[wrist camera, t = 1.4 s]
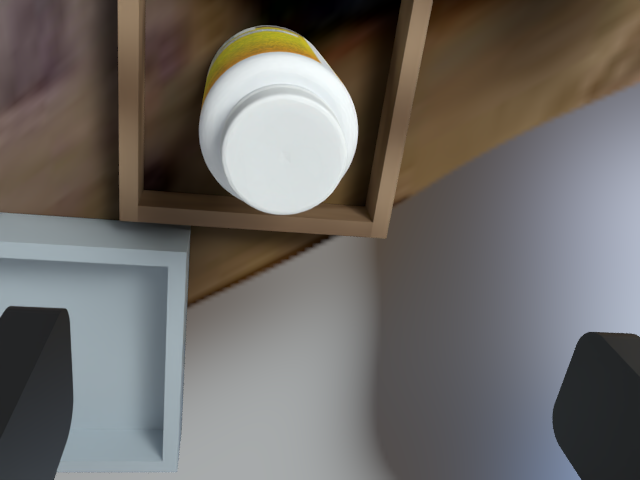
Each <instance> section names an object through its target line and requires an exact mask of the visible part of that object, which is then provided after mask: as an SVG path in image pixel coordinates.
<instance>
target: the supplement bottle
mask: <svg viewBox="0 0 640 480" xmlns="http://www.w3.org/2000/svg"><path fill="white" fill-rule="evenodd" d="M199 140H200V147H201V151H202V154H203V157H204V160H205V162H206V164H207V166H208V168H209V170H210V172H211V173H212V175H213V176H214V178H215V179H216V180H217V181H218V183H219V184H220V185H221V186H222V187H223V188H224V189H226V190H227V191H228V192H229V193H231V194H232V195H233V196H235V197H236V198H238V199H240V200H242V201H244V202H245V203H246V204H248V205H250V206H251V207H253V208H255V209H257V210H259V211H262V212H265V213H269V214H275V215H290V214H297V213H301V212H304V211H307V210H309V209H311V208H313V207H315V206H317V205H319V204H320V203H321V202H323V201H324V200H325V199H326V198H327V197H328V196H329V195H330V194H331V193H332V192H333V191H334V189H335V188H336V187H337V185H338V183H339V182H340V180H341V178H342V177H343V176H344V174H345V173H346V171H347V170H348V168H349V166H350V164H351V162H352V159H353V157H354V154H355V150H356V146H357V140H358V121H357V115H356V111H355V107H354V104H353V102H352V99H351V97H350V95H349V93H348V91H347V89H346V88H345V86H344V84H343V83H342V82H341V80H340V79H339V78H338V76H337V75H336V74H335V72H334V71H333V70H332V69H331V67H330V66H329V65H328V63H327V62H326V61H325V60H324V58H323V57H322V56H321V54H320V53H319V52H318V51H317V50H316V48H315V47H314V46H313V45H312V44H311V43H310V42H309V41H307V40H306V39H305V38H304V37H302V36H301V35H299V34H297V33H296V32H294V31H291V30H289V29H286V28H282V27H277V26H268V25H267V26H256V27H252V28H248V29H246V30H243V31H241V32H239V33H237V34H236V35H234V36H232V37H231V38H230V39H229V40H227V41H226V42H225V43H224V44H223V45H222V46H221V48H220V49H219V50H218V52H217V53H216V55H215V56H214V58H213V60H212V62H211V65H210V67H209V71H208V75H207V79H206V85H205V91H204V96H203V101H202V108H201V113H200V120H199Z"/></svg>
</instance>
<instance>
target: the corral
mask: <svg viewBox="0 0 640 480" xmlns="http://www.w3.org/2000/svg"><path fill="white" fill-rule="evenodd" d="M432 3H433V0H401V6H400V12H399V17H398V23H397V29H396V34H395V40H394V46H393V51H392V57H391V63H390V68H389V74H388V80H387V85H386V91H385V97H384V103H383V108H382V114H381V120H380V125H379V131H378V137H377V142H376V148H375V154H374V159H373V165H372V171H371V176H370V182H369V188H368V194H367V199H366V205H365V206H351V205H338V204H325V203H320V204H319V205H317V206H315V207H313V208H311V209H309V210H307V211H304V212H301V213H297V214H290V215H275V214H269V213H265V212H262V211H259V210H257V209H255V208H253V207H251V206H250V205H248V204H246V203H245V202H244V201H242V200H240V199H238V198H236V197H231V196H218V195H205V194H191V193H178V192H165V191H151V190H144V99H145V0H118V97H119V213H120V221H130V222H145V223H160V224H175V225H190V226H205V227H220V228H236V229H251V230H266V231H281V232H296V233H311V234H326V235H341V236H356V237H371V238H386V237H387V232H388V226H389V222H390V216H391V211H392V206H393V201H394V196H395V191H396V186H397V181H398V176H399V171H400V166H401V161H402V155H403V150H404V145H405V140H406V135H407V130H408V125H409V120H410V115H411V110H412V105H413V99H414V94H415V89H416V84H417V79H418V74H419V69H420V64H421V59H422V54H423V48H424V43H425V38H426V33H427V28H428V23H429V18H430V13H431V8H432Z"/></svg>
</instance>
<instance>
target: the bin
mask: <svg viewBox="0 0 640 480" xmlns="http://www.w3.org/2000/svg"><path fill="white" fill-rule="evenodd" d="M190 232H191V226H190V225H175V224H160V223H145V222H130V221H120V220H105V219H90V218H75V217H60V216H45V215H30V214H15V213H0V317H1V315H2V314H3V312H4V311H5V310H6V308H7V307H9V306H24V307H47V308H66V309H67V311H68V313H69V318H70V332H71V353H72V373H73V397H74V398H73V413H72V421H71V427H70V431H69V436H68V439H67V442H66V445H65V448H64V451H63V454H62V457H61V460H60V463H59V466H58V469H57V472H177V469H178V460H179V450H180V441H181V430H182V406H183V386H184V364H185V342H186V320H187V298H188V276H189V254H190Z"/></svg>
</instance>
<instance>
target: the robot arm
mask: <svg viewBox="0 0 640 480" xmlns="http://www.w3.org/2000/svg"><path fill="white" fill-rule="evenodd" d="M73 398H74V397H73V373H72V353H71V332H70V318H69V313H68V311H67V309H66V308H47V307H24V306H9V307H7V308H6V310H5V311H4V312H3V314H2V315H1V317H0V480H54V478H55V475H56V472H57V469H58V466H59V463H60V460H61V457H62V454H63V451H64V448H65V445H66V442H67V439H68V436H69V431H70V427H71V421H72V413H73ZM553 429H554V433H555V437H556V439H557V442H558V444H559V446H560V447H561V449H562V450H563V452H564V454H565V455H566V457H567V458H568V460H569V461H570V463H571V464H572V466H573V467H574V469H575V470H576V472H577V474H578V475H579V477H580V478H581V480H640V337H639V336H637V335H635V334H628V333H626V334H625V333H604V332H588V333H586V334H584V335H583V336H582V337H581V338H580V339H579V341H578V343H577V345H576V348H575V350H574V353H573V356H572V359H571V361H570V364H569V367H568V369H567V372H566V375H565V378H564V380H563V383H562V386H561V388H560V391H559V394H558V397H557V399H556V402H555V405H554V409H553Z"/></svg>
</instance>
